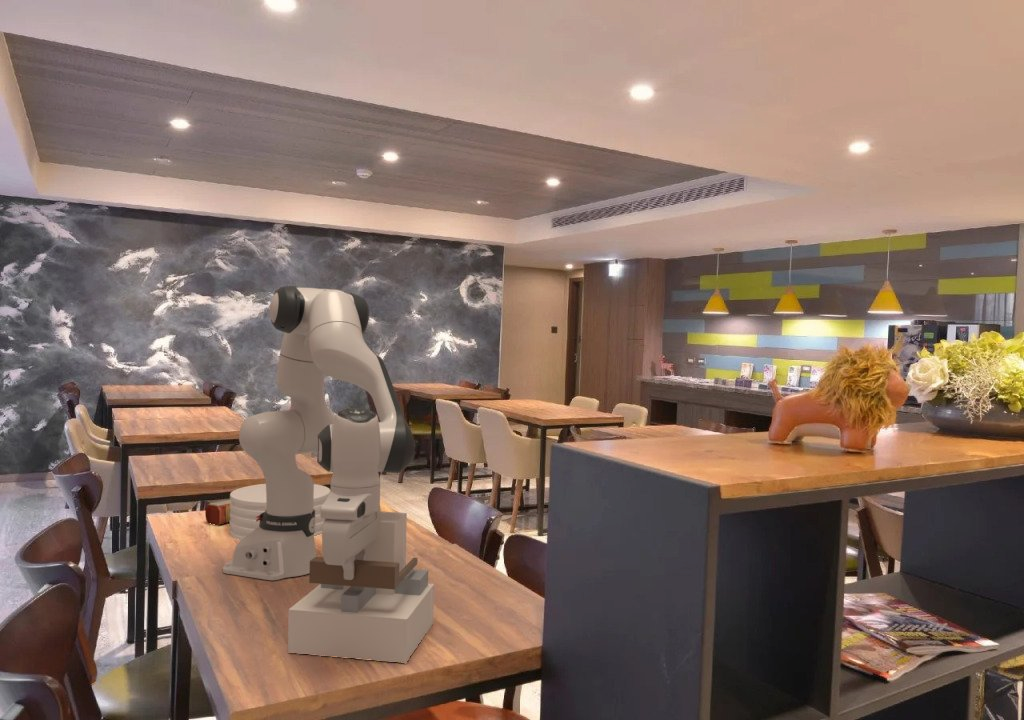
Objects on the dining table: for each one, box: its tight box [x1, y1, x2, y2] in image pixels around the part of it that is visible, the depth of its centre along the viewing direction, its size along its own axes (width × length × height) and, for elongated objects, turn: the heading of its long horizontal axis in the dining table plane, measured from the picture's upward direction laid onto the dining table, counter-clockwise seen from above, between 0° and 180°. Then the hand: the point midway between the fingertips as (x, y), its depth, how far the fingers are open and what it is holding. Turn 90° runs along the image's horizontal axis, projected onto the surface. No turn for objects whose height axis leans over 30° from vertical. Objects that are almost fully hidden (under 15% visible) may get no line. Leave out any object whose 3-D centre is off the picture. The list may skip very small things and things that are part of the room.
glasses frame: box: [308, 556, 418, 589], centre depth 139 cm, size 16×15×4 cm
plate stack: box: [229, 483, 330, 541], centre depth 215 cm, size 28×28×12 cm
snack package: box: [204, 499, 231, 526], centre depth 227 cm, size 21×7×7 cm, turn 152°
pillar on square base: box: [287, 511, 435, 663], centre depth 139 cm, size 22×19×22 cm
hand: (353, 575), depth 133 cm, fingers closed on glasses frame, 3 cm apart
